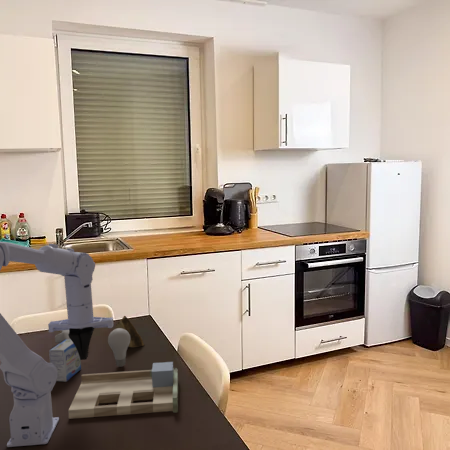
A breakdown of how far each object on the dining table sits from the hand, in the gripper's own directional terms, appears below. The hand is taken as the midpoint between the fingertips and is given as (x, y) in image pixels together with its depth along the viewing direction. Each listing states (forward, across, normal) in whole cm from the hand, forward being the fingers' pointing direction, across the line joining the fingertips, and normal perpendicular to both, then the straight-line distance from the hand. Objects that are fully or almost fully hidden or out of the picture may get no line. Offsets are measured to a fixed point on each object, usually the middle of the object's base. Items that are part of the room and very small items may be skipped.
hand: (84, 358), depth 109 cm
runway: (+10, -10, +2) cm, 14 cm away
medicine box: (+11, +8, -14) cm, 20 cm away
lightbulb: (+11, -6, -18) cm, 21 cm away
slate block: (+9, -18, -2) cm, 20 cm away
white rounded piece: (+11, +12, -37) cm, 40 cm away
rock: (+11, -6, -36) cm, 38 cm away
